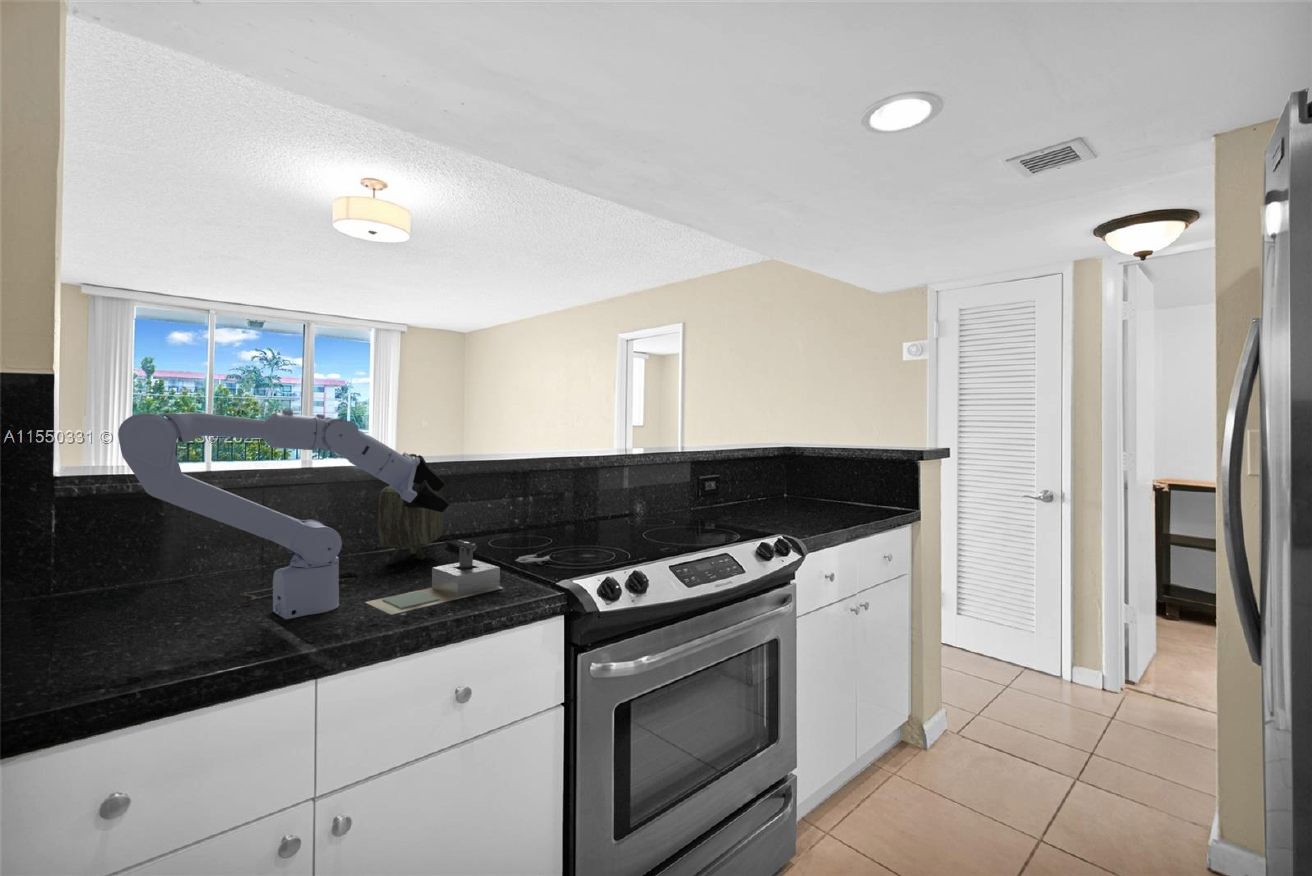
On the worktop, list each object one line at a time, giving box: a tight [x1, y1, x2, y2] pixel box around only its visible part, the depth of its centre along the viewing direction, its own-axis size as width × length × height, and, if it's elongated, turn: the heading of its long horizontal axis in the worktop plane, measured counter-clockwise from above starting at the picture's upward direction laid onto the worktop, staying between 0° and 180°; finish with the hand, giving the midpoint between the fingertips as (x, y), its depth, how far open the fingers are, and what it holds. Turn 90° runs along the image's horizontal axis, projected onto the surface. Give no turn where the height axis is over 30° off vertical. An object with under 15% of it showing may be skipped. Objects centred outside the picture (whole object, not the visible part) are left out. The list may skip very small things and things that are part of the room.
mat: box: [382, 590, 439, 609], centre depth 110 cm, size 7×7×1 cm
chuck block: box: [431, 559, 501, 598], centre depth 118 cm, size 9×9×4 cm
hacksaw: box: [231, 569, 359, 608], centre depth 120 cm, size 24×10×2 cm, turn 136°
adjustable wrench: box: [514, 554, 550, 565], centre depth 138 cm, size 25×6×2 cm, turn 135°
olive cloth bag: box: [377, 453, 444, 565], centre depth 146 cm, size 14×9×25 cm, turn 174°
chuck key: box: [455, 539, 477, 571], centre depth 118 cm, size 2×6×7 cm, turn 49°
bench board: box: [364, 586, 503, 616], centre depth 114 cm, size 22×10×1 cm, turn 139°
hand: (443, 497), depth 120 cm, fingers open, 7 cm apart
